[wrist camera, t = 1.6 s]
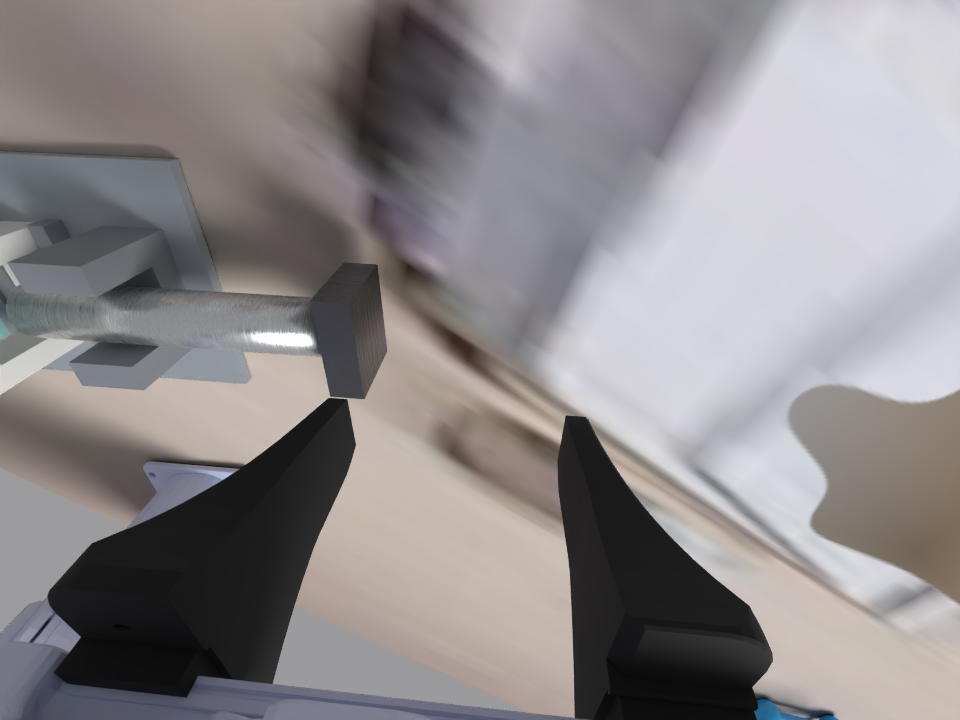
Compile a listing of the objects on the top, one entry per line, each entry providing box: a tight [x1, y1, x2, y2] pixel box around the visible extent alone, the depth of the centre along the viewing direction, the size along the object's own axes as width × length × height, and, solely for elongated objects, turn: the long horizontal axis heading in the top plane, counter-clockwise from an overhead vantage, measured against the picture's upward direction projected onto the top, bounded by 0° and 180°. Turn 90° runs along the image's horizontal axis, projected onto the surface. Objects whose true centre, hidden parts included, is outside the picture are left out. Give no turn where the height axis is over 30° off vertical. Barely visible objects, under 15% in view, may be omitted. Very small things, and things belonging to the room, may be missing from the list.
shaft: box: [6, 263, 387, 399], centre depth 20 cm, size 5×16×4 cm, turn 89°
